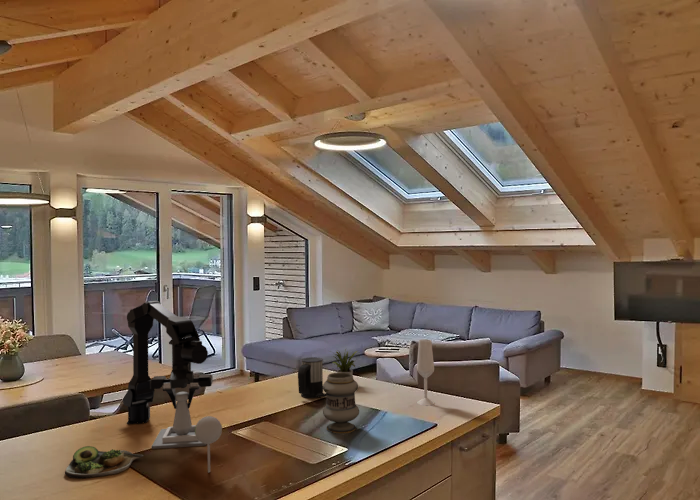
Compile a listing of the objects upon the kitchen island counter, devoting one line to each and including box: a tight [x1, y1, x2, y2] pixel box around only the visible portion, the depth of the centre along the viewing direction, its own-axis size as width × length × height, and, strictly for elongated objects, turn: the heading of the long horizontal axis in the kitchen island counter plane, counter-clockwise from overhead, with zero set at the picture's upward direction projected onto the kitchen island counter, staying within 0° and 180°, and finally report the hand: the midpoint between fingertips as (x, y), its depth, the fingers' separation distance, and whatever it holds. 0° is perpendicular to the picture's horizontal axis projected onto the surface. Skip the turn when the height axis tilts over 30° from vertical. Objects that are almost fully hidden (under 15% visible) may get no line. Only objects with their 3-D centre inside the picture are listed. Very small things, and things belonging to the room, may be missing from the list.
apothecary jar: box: [322, 371, 360, 434], centre depth 186 cm, size 12×12×18 cm
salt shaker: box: [172, 391, 193, 435], centre depth 179 cm, size 6×6×13 cm
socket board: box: [151, 424, 207, 450], centre depth 179 cm, size 16×16×2 cm
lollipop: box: [195, 415, 223, 473], centre depth 152 cm, size 7×7×15 cm
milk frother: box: [297, 356, 326, 399], centre depth 225 cm, size 14×16×15 cm
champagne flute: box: [416, 338, 435, 406], centre depth 215 cm, size 7×7×24 cm
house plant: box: [329, 348, 358, 375], centre depth 244 cm, size 14×14×16 cm
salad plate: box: [64, 445, 144, 479], centre depth 158 cm, size 19×18×5 cm
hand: (182, 408), depth 179 cm, fingers closed on salt shaker, 4 cm apart
